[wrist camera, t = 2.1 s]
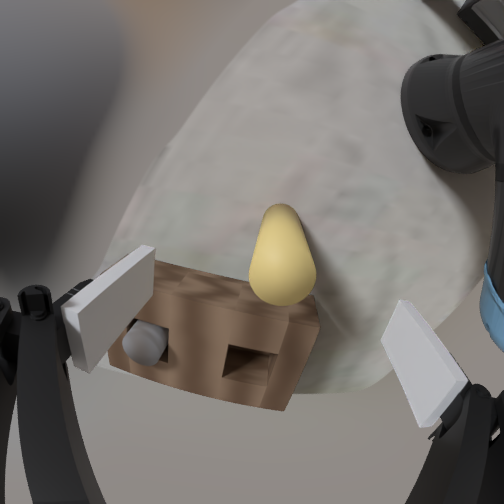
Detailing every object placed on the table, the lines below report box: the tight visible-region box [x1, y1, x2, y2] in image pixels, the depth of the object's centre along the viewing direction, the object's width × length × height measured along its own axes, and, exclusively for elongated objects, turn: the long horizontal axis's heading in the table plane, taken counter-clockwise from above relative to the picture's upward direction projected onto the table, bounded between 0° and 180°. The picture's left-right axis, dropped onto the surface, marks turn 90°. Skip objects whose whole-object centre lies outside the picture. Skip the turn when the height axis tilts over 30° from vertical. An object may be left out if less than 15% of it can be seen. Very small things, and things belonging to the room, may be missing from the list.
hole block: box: [100, 254, 321, 411], centre depth 31 cm, size 24×14×9 cm, turn 78°
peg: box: [249, 204, 316, 306], centre depth 23 cm, size 4×4×15 cm
